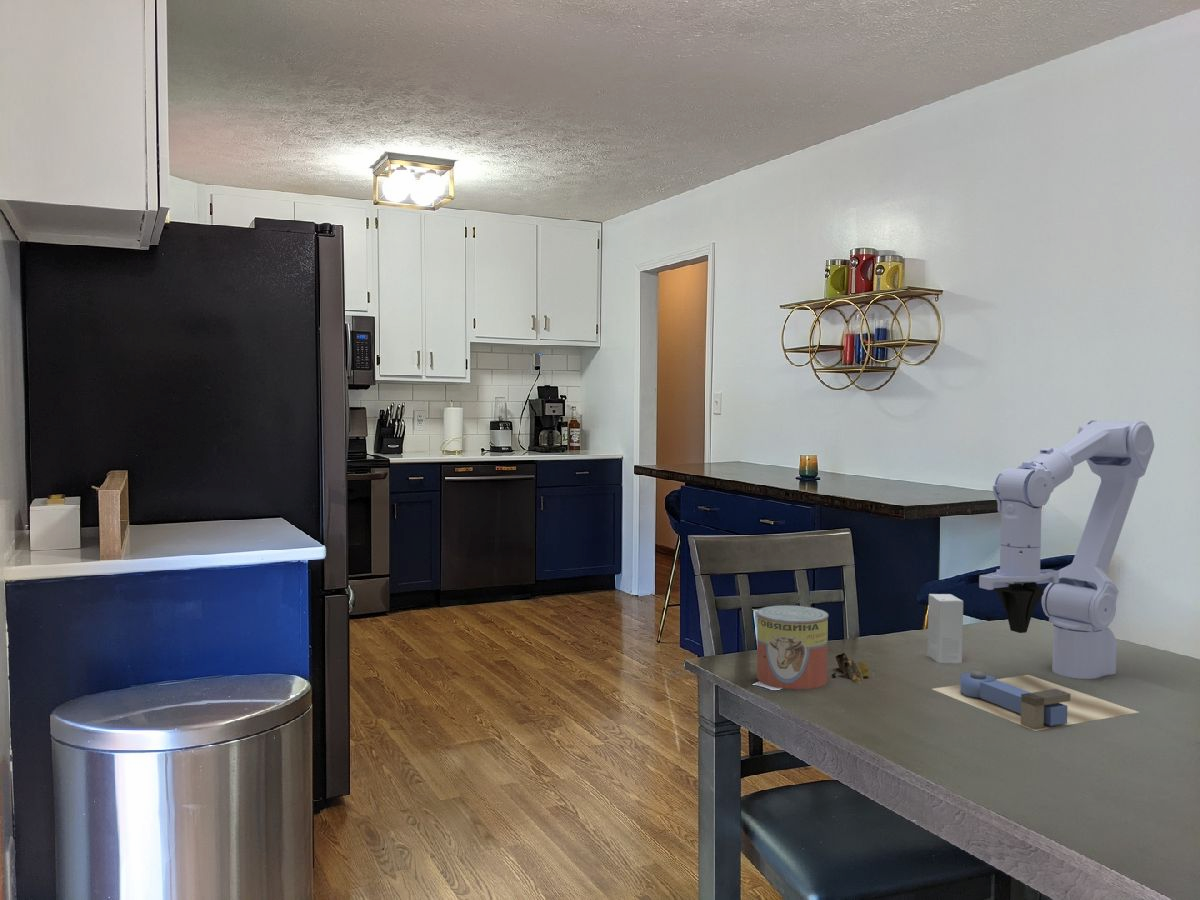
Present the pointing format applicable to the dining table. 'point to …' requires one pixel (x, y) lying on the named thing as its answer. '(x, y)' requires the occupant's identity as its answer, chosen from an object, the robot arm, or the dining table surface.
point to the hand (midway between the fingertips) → (1018, 631)
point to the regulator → (851, 668)
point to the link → (1006, 695)
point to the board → (1078, 706)
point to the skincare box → (945, 628)
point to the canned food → (792, 647)
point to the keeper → (1039, 706)
